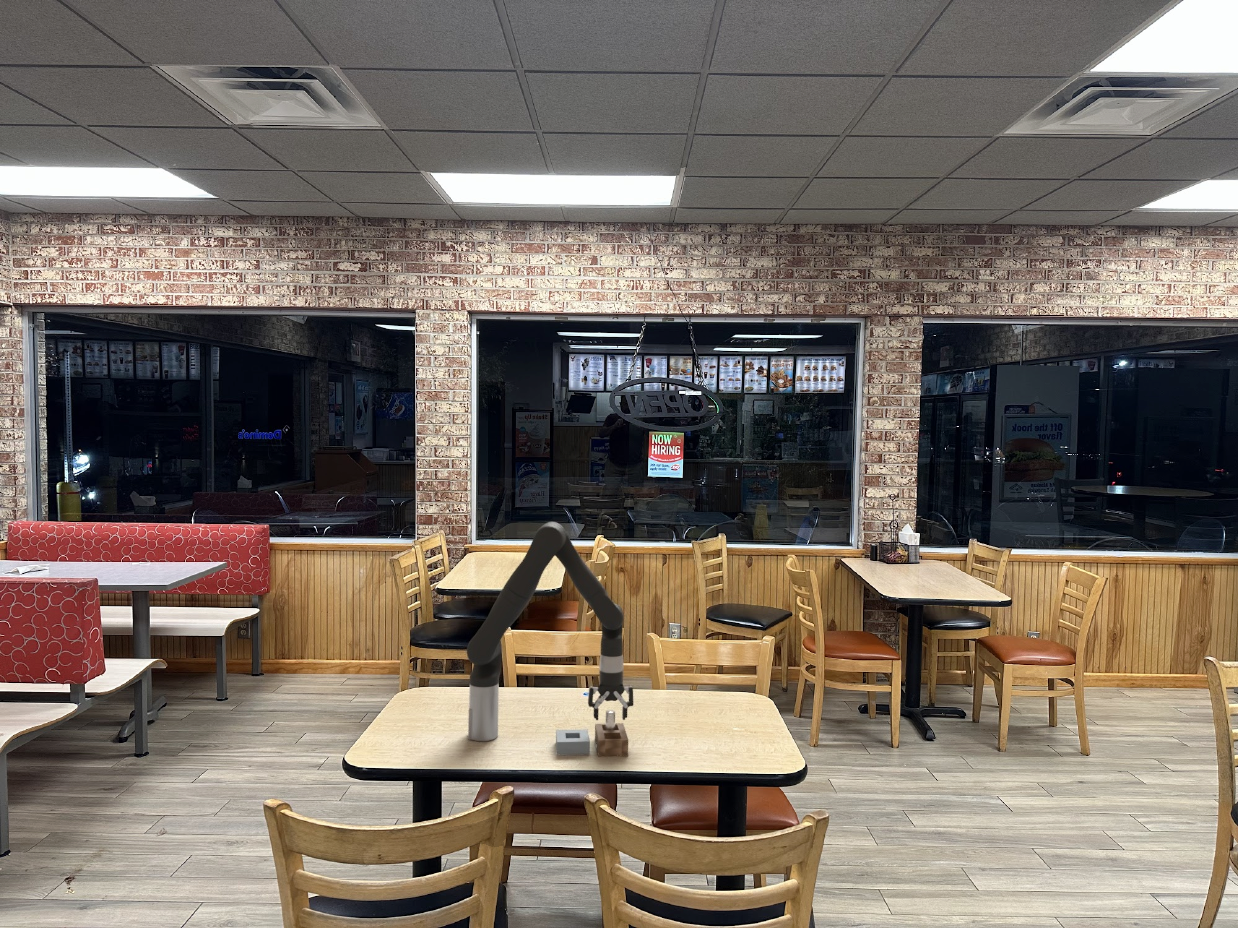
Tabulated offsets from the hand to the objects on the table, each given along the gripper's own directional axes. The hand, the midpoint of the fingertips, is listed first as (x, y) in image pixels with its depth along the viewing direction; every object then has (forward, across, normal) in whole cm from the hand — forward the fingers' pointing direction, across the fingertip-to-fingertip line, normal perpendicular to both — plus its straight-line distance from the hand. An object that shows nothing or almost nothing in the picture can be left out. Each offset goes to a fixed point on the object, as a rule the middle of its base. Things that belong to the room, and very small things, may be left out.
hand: (610, 719), depth 248 cm
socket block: (+8, -12, -4) cm, 15 cm away
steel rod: (+8, 0, 0) cm, 8 cm away
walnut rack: (+8, 0, -4) cm, 8 cm away
